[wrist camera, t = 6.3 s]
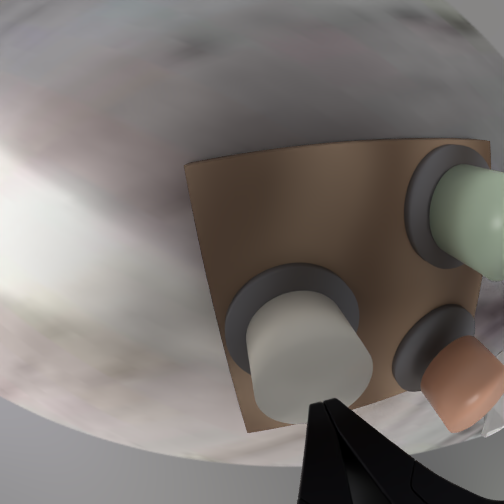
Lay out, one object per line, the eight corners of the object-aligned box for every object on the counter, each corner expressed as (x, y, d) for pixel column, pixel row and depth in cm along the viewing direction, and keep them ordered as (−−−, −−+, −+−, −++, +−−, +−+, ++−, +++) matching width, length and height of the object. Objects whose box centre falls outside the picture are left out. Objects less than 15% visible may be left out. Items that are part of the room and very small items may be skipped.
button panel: (470, 138, 12) (498, 141, 10) (447, 355, 17) (463, 373, 15) (188, 163, 11) (181, 167, 10) (245, 413, 16) (248, 440, 14)
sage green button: (489, 163, 10) (538, 174, 7) (485, 245, 12) (528, 269, 9) (428, 166, 10) (481, 178, 7) (427, 261, 11) (471, 292, 9)
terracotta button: (485, 325, 12) (520, 356, 9) (467, 380, 13) (494, 411, 11) (428, 350, 12) (463, 390, 9) (413, 405, 13) (438, 443, 10)
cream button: (342, 281, 11) (377, 323, 9) (342, 360, 13) (367, 407, 10) (237, 301, 11) (244, 352, 8) (253, 379, 13) (262, 433, 10)
